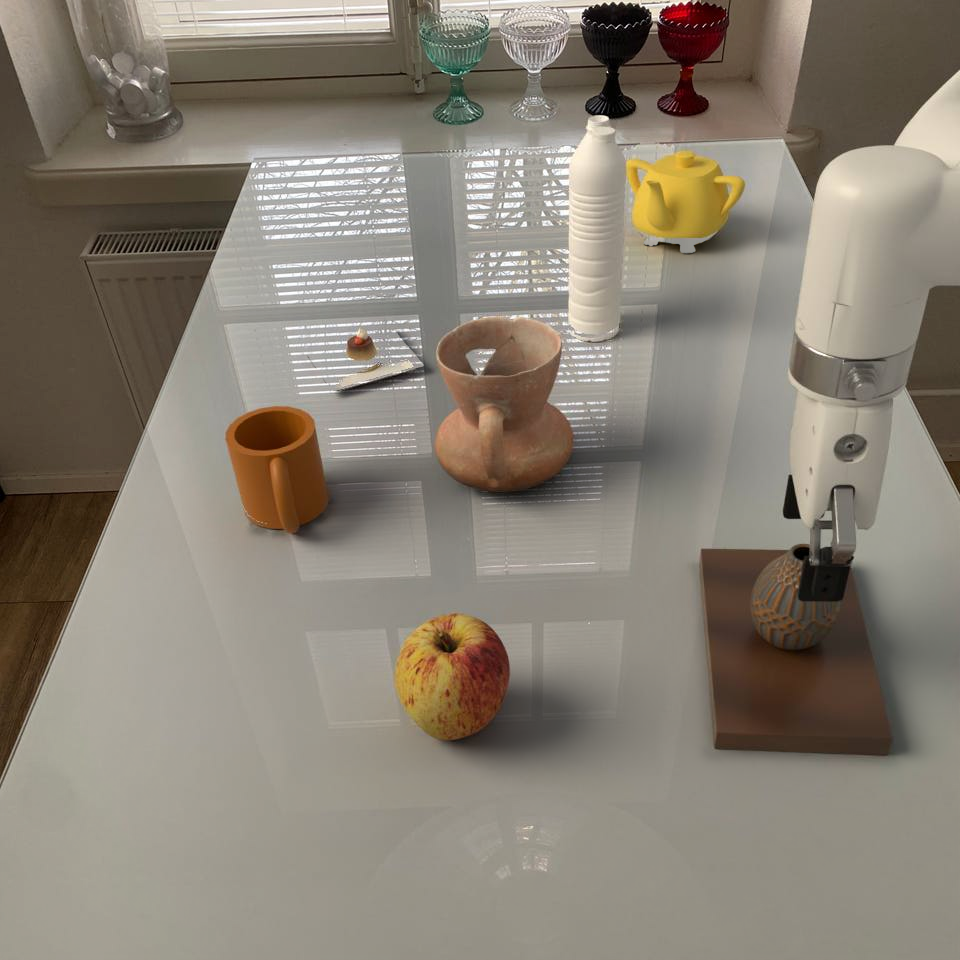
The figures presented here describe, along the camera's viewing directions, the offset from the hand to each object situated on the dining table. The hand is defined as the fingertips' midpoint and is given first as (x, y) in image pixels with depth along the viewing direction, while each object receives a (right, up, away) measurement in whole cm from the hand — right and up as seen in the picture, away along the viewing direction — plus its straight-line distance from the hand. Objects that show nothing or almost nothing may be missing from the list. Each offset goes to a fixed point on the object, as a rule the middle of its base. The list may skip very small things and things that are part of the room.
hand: (810, 556), depth 77 cm
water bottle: (-11, +32, +48) cm, 59 cm away
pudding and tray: (-40, +27, +46) cm, 67 cm away
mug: (-46, +6, +25) cm, 53 cm away
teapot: (+2, +50, +65) cm, 82 cm away
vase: (0, -6, +6) cm, 9 cm away
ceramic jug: (-23, +11, +29) cm, 38 cm away
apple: (-28, -13, +4) cm, 31 cm away
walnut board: (0, -7, +7) cm, 10 cm away
